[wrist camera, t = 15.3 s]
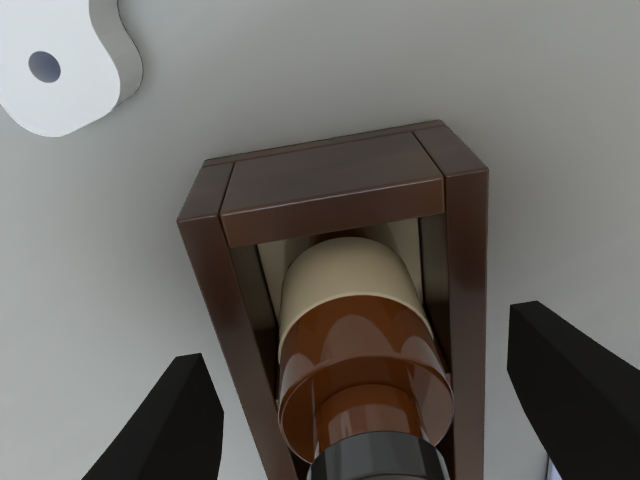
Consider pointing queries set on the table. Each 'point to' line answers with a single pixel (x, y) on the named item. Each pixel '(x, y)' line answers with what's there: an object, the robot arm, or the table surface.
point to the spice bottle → (359, 361)
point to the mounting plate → (64, 63)
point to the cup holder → (334, 215)
